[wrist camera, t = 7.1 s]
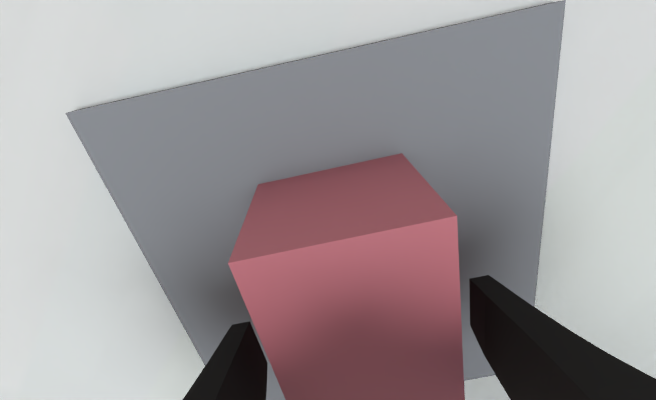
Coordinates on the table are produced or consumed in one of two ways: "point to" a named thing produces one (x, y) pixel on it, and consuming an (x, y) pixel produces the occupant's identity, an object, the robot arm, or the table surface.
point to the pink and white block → (355, 283)
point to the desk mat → (341, 155)
